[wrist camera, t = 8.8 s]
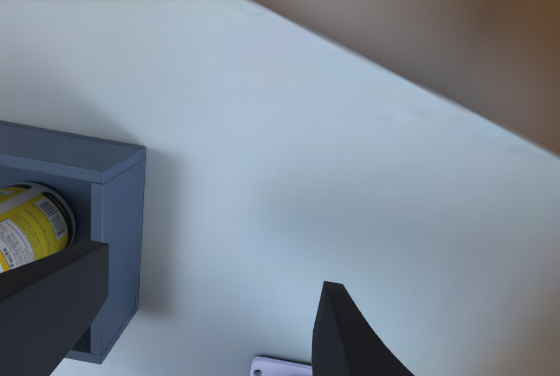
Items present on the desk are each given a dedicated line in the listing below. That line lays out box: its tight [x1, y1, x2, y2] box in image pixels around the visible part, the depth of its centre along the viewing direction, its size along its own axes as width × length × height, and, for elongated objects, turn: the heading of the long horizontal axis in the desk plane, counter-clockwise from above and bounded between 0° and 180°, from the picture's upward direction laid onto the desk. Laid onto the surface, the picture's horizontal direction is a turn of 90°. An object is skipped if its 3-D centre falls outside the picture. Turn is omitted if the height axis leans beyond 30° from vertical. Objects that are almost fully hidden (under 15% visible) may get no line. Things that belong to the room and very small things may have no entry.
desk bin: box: [0, 121, 146, 364], centre depth 21 cm, size 11×12×5 cm
